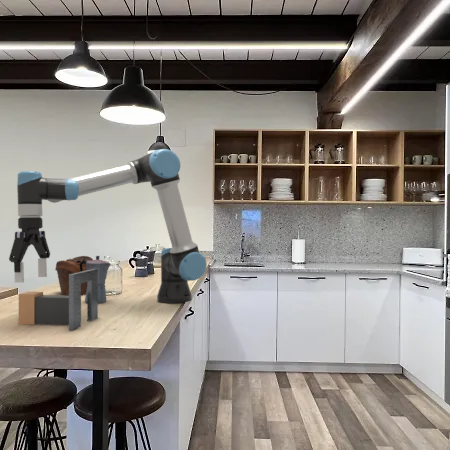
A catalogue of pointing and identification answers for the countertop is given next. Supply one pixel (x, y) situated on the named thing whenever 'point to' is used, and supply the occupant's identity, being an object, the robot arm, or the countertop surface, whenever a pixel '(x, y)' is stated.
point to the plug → (43, 309)
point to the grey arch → (75, 297)
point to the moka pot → (102, 274)
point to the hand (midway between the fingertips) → (31, 279)
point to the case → (70, 272)
